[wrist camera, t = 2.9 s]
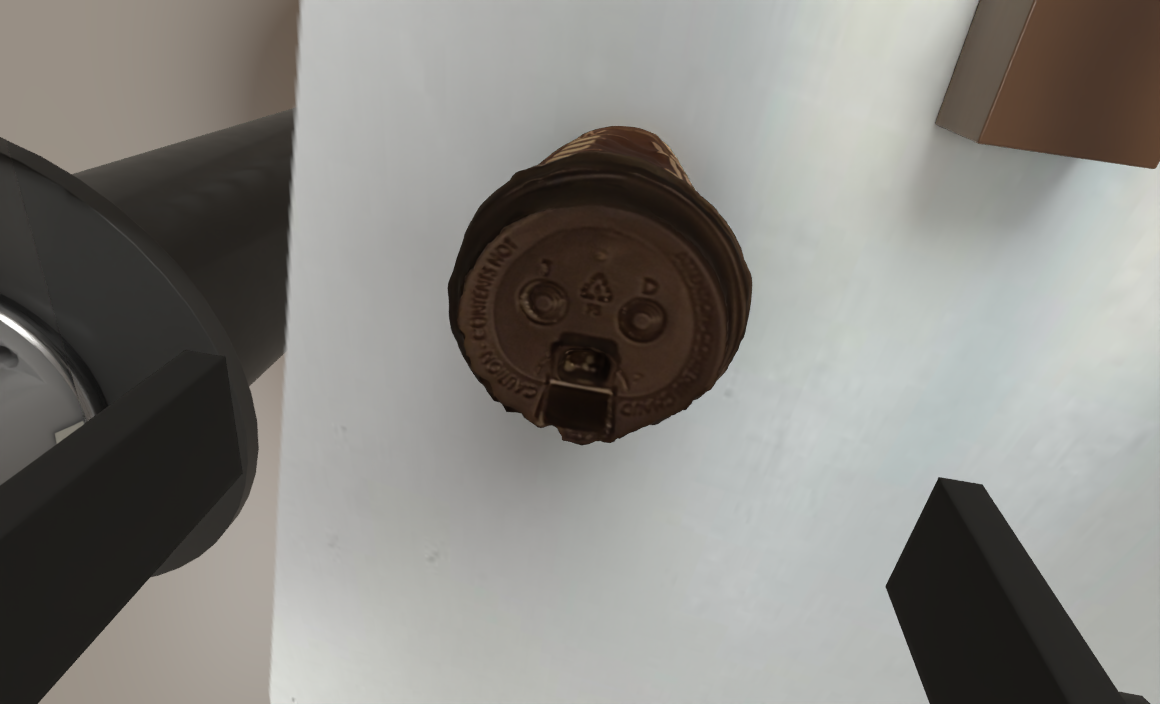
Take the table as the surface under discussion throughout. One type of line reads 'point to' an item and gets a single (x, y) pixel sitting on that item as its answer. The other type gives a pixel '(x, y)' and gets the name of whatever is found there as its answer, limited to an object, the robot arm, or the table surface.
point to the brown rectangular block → (1061, 79)
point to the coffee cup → (599, 289)
